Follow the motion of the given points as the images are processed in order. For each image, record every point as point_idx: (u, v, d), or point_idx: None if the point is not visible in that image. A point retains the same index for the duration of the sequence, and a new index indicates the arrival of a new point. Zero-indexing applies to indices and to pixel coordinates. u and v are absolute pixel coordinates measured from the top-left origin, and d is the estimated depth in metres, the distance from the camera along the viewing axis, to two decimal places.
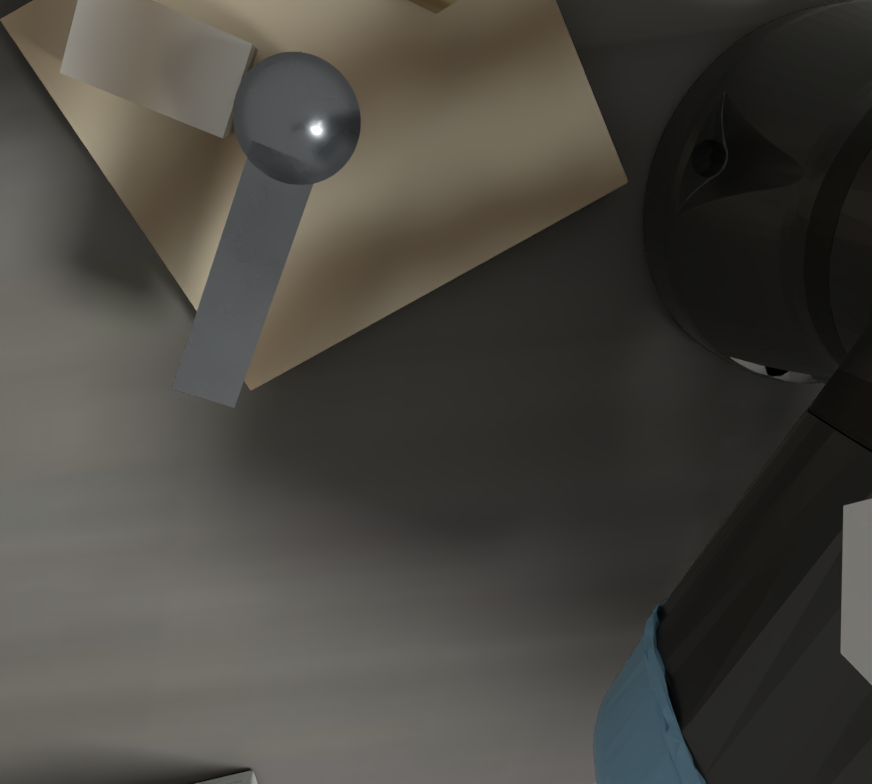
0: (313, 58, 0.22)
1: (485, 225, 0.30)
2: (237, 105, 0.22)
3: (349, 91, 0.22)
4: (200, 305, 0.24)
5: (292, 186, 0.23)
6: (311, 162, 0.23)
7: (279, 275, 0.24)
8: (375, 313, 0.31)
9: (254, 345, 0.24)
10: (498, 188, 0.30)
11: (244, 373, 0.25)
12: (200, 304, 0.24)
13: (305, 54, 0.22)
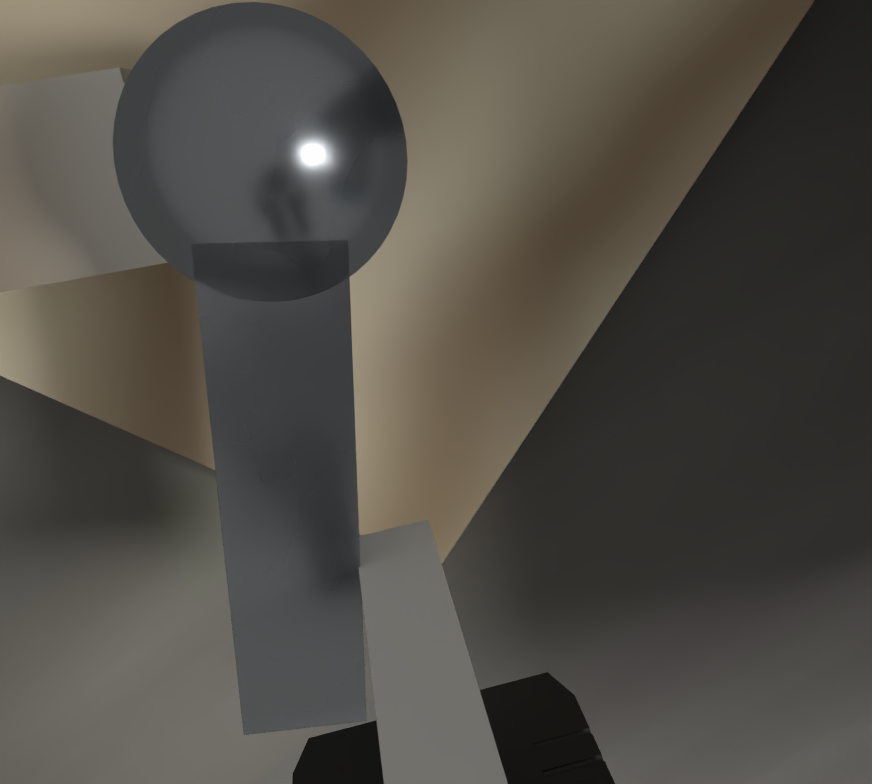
0: (242, 10, 0.09)
1: (663, 130, 0.16)
2: (128, 185, 0.10)
3: (348, 50, 0.10)
4: (230, 585, 0.12)
5: (309, 299, 0.10)
6: (328, 236, 0.10)
7: (353, 474, 0.11)
8: (558, 365, 0.18)
9: (358, 611, 0.12)
10: (654, 56, 0.16)
11: (360, 661, 0.13)
12: (230, 584, 0.12)
13: (221, 9, 0.09)
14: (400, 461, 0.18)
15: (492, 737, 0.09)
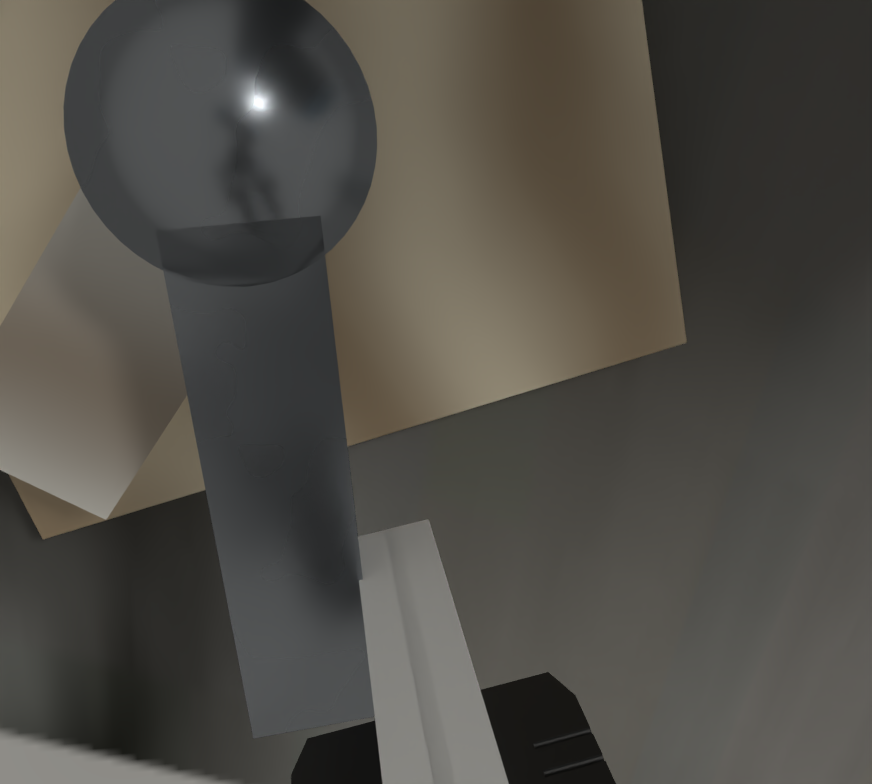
0: None
1: None
2: (84, 172, 0.09)
3: (305, 13, 0.09)
4: (227, 585, 0.11)
5: (285, 280, 0.10)
6: (299, 213, 0.10)
7: (346, 462, 0.11)
8: (637, 81, 0.16)
9: None
10: None
11: (367, 654, 0.12)
12: (226, 584, 0.11)
13: None
14: (575, 285, 0.17)
15: (493, 737, 0.09)
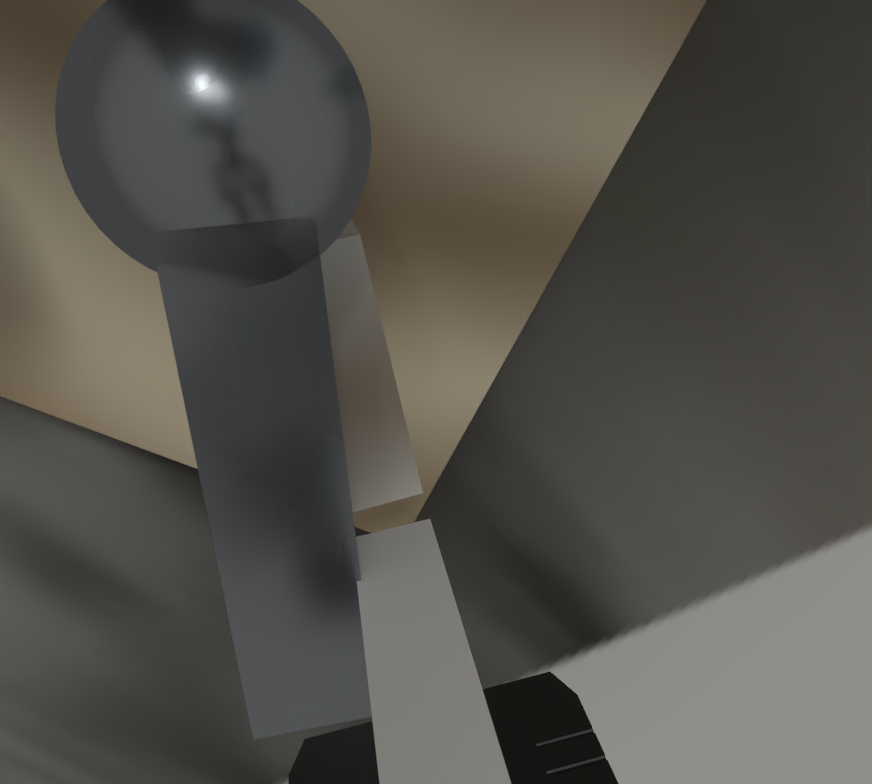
0: None
1: None
2: (77, 174, 0.09)
3: (297, 12, 0.09)
4: (225, 587, 0.11)
5: (280, 281, 0.10)
6: (294, 214, 0.10)
7: (343, 463, 0.11)
8: None
9: None
10: None
11: None
12: (224, 586, 0.11)
13: None
14: None
15: (495, 736, 0.09)
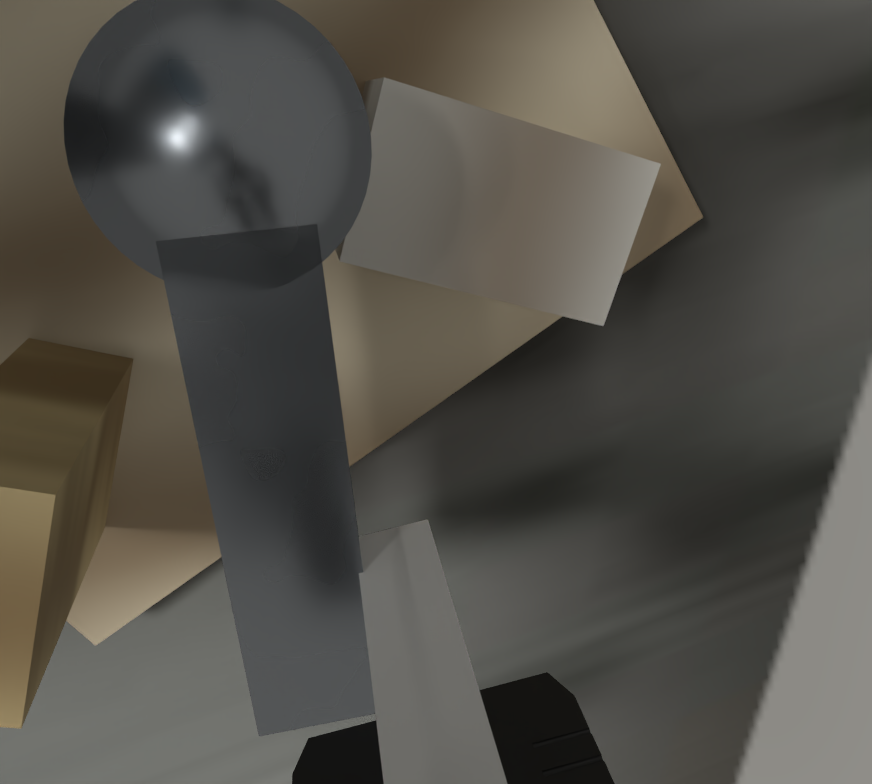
0: None
1: None
2: (85, 185, 0.09)
3: (299, 26, 0.09)
4: (231, 587, 0.12)
5: (283, 289, 0.10)
6: (296, 222, 0.10)
7: (345, 464, 0.11)
8: None
9: None
10: None
11: None
12: (230, 586, 0.12)
13: None
14: None
15: (492, 737, 0.09)
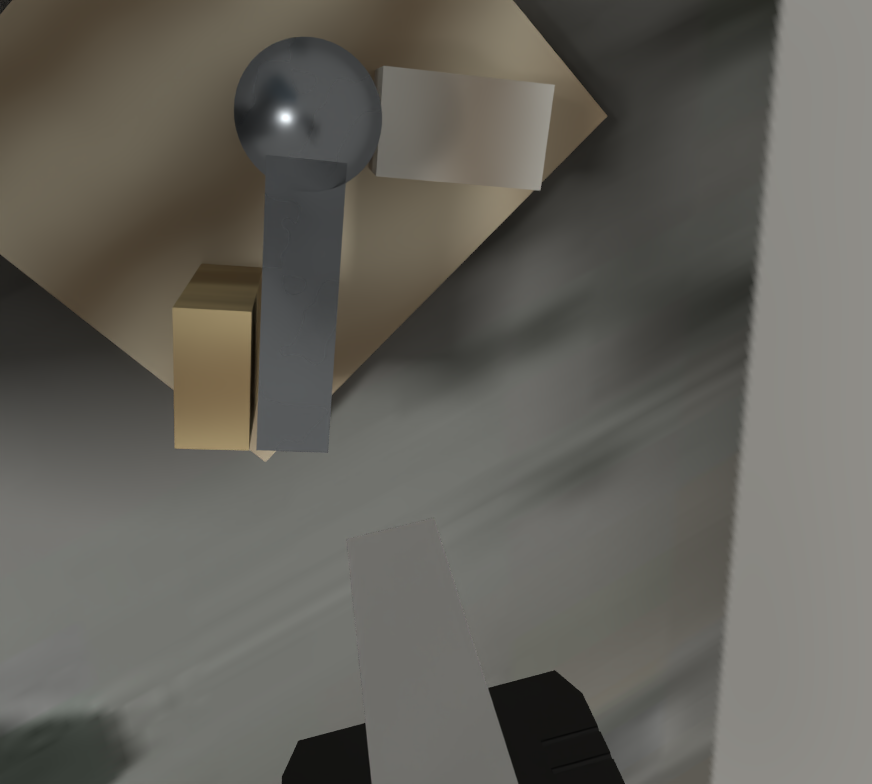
0: (307, 40, 0.19)
1: (38, 48, 0.23)
2: (239, 120, 0.19)
3: (357, 65, 0.19)
4: (261, 352, 0.21)
5: (323, 192, 0.20)
6: (337, 159, 0.20)
7: (336, 295, 0.21)
8: None
9: (330, 379, 0.22)
10: (46, 101, 0.24)
11: (328, 412, 0.22)
12: (261, 351, 0.21)
13: (297, 38, 0.19)
14: None
15: (501, 735, 0.09)
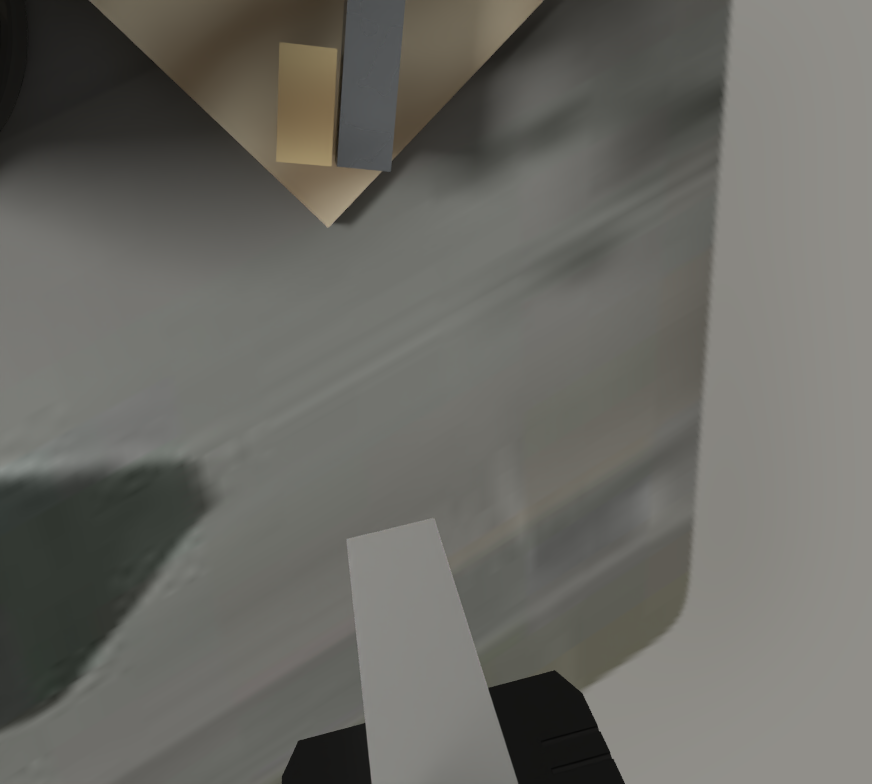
0: None
1: None
2: None
3: None
4: (343, 83, 0.28)
5: None
6: None
7: (400, 38, 0.28)
8: None
9: (394, 109, 0.28)
10: None
11: (392, 137, 0.29)
12: (343, 82, 0.28)
13: None
14: None
15: (501, 735, 0.09)
